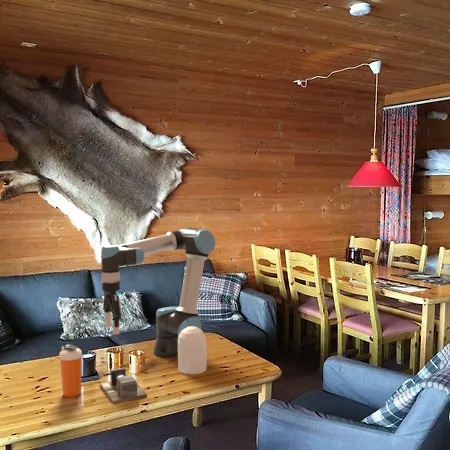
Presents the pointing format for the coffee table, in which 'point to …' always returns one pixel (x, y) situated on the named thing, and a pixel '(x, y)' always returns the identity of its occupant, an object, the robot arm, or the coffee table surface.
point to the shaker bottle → (71, 370)
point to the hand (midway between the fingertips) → (112, 330)
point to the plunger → (116, 374)
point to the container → (192, 351)
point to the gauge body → (123, 390)
